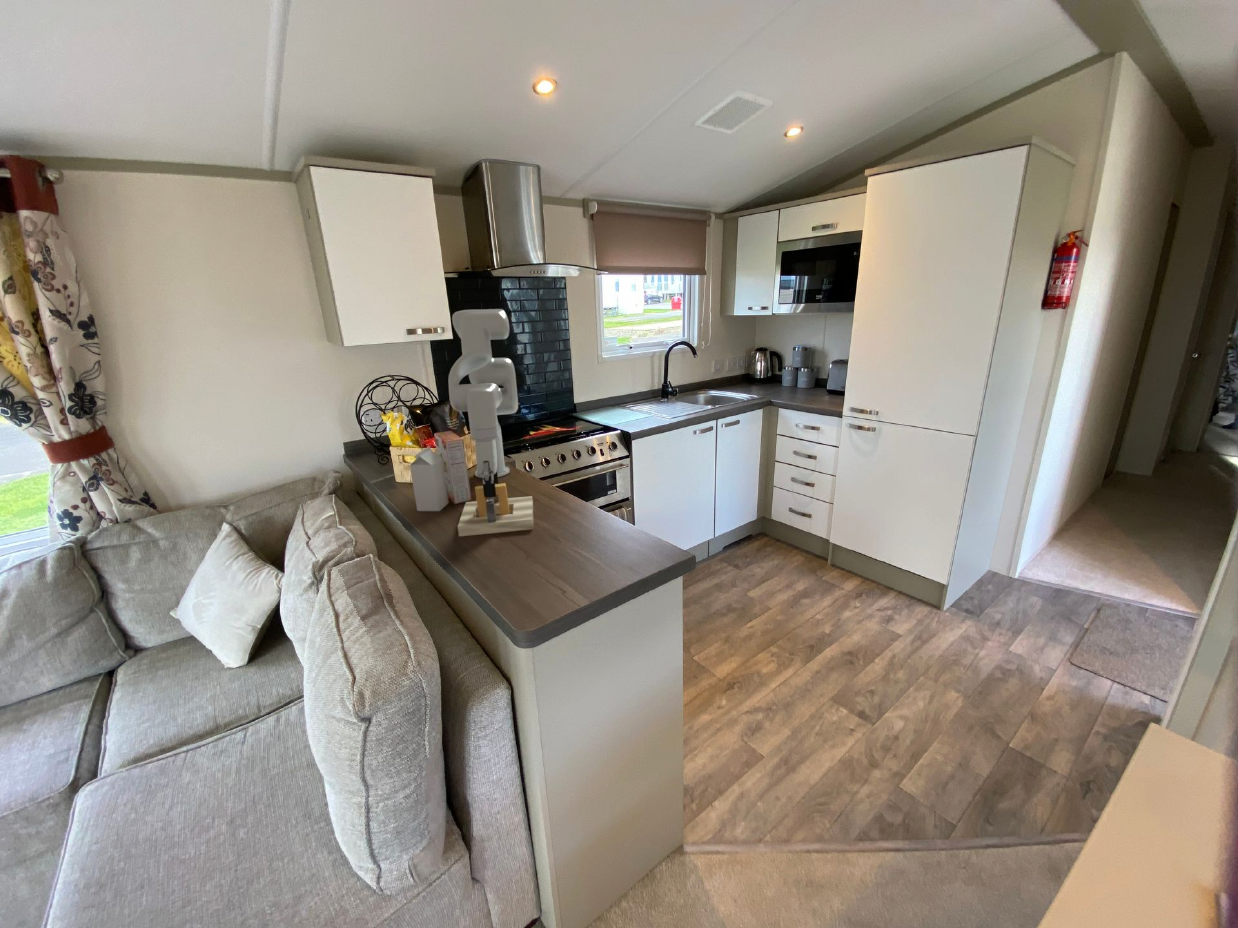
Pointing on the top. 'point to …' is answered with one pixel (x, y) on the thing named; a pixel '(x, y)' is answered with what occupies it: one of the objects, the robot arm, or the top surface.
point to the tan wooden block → (502, 497)
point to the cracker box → (454, 466)
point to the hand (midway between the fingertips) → (491, 490)
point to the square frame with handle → (497, 517)
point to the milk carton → (429, 481)
